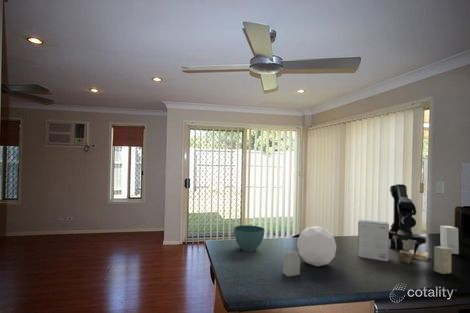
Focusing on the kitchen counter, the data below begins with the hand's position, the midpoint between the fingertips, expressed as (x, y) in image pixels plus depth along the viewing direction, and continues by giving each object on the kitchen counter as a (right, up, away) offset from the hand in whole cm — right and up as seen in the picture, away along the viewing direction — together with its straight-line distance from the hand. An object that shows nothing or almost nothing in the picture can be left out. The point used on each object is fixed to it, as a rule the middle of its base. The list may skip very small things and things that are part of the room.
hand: (405, 252), depth 153 cm
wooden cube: (0, -5, 0) cm, 5 cm away
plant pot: (-85, -2, +12) cm, 86 cm away
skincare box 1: (+40, -7, +20) cm, 45 cm away
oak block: (+12, -6, +8) cm, 15 cm away
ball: (-51, -3, -9) cm, 52 cm away
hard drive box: (-15, -4, +5) cm, 17 cm away
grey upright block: (-67, -2, -24) cm, 71 cm away
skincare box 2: (+10, -5, -14) cm, 18 cm away
